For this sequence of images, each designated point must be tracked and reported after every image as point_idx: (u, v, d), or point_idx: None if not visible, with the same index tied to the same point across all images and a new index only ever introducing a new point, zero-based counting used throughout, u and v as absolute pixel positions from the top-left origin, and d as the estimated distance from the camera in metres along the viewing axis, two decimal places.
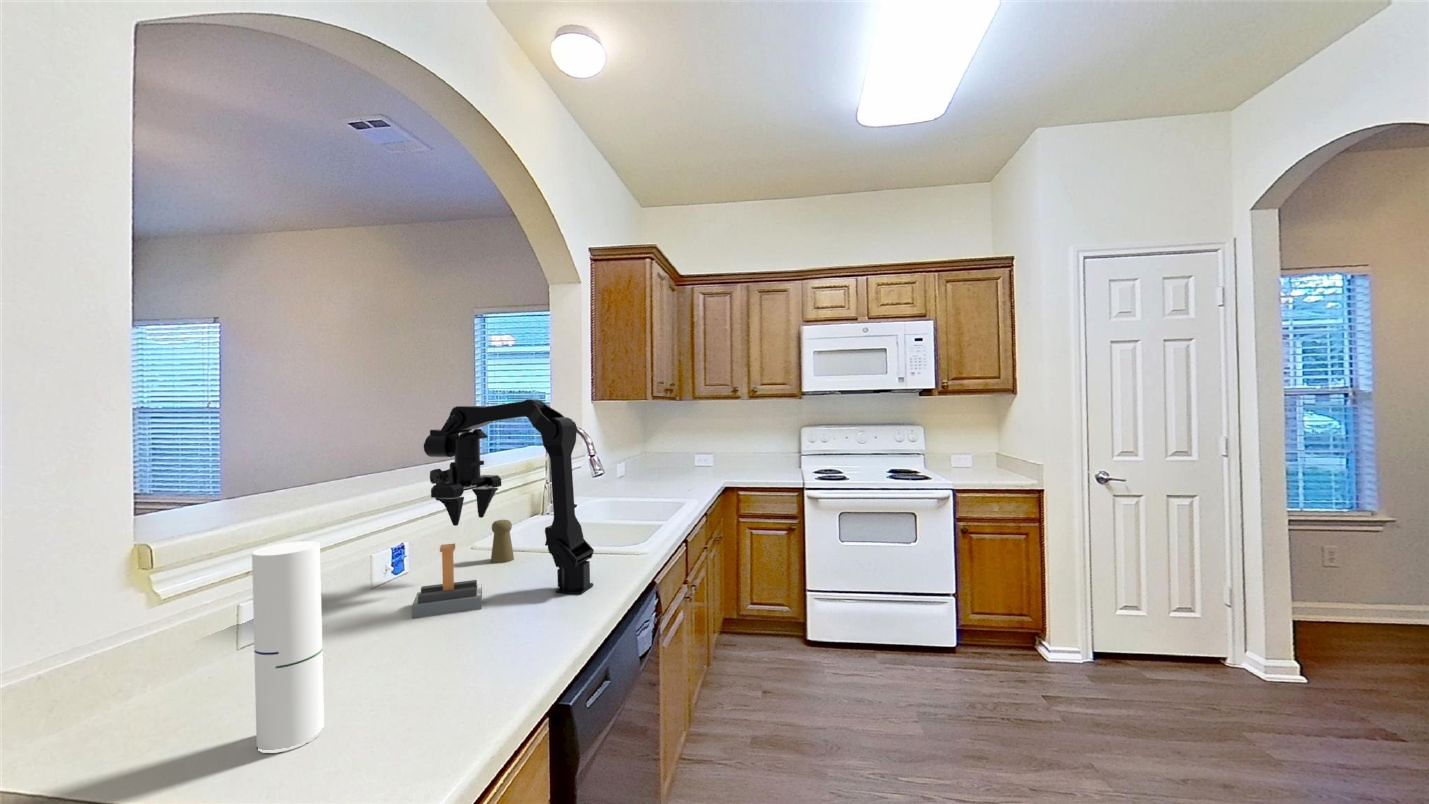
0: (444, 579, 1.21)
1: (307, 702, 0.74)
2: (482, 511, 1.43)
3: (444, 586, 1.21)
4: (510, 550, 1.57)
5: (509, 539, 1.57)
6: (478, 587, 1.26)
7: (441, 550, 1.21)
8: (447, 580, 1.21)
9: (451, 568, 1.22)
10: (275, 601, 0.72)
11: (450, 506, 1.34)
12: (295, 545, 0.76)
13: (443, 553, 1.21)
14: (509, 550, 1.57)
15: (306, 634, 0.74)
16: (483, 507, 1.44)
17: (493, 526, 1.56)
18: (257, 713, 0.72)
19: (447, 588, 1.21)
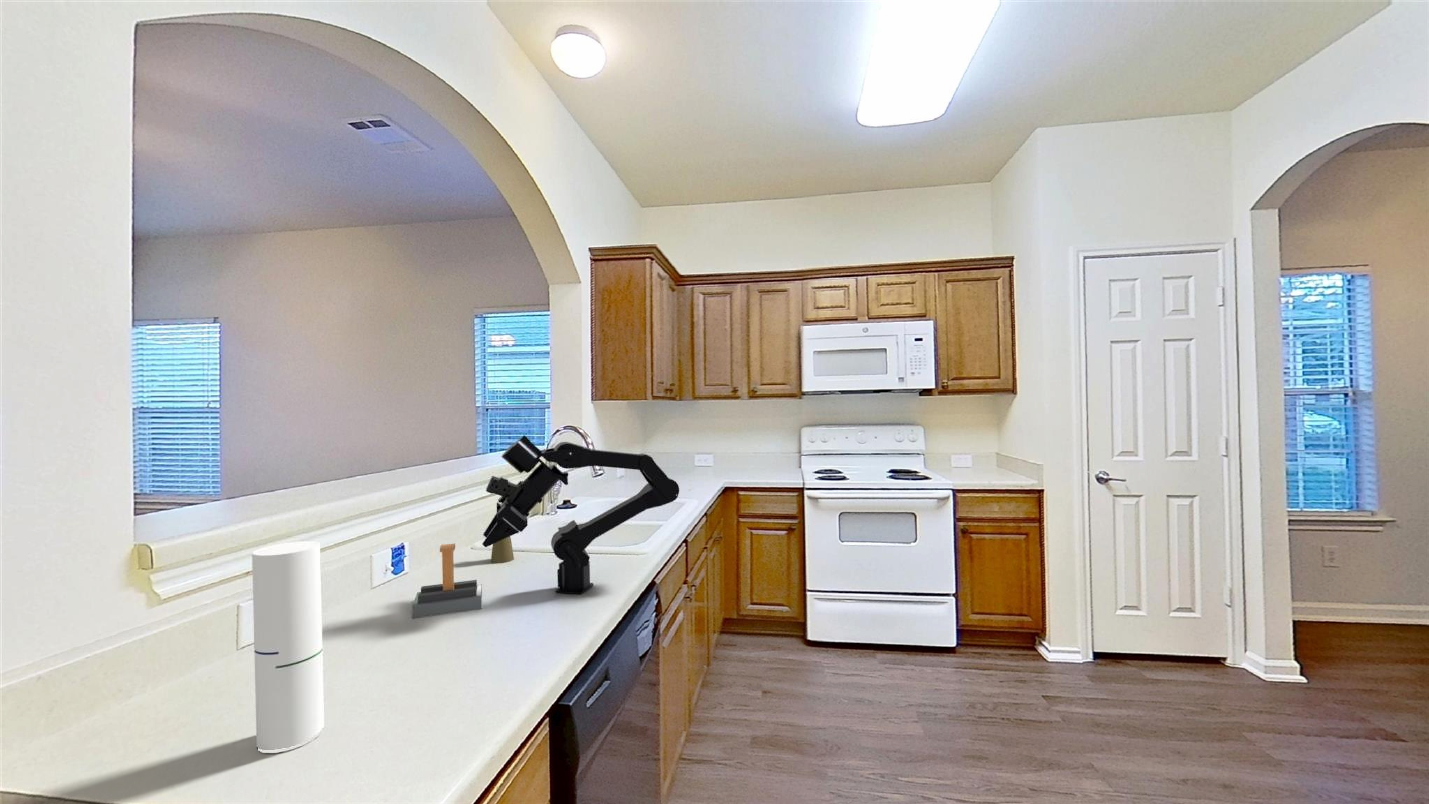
0: (444, 579, 1.21)
1: (307, 702, 0.74)
2: None
3: (444, 586, 1.21)
4: (510, 550, 1.57)
5: (509, 539, 1.57)
6: (478, 587, 1.26)
7: (441, 550, 1.21)
8: (447, 580, 1.21)
9: (451, 568, 1.22)
10: (275, 601, 0.72)
11: (499, 528, 1.21)
12: (295, 545, 0.76)
13: (443, 553, 1.21)
14: (509, 550, 1.57)
15: (306, 634, 0.74)
16: None
17: None
18: (257, 713, 0.72)
19: (447, 588, 1.21)
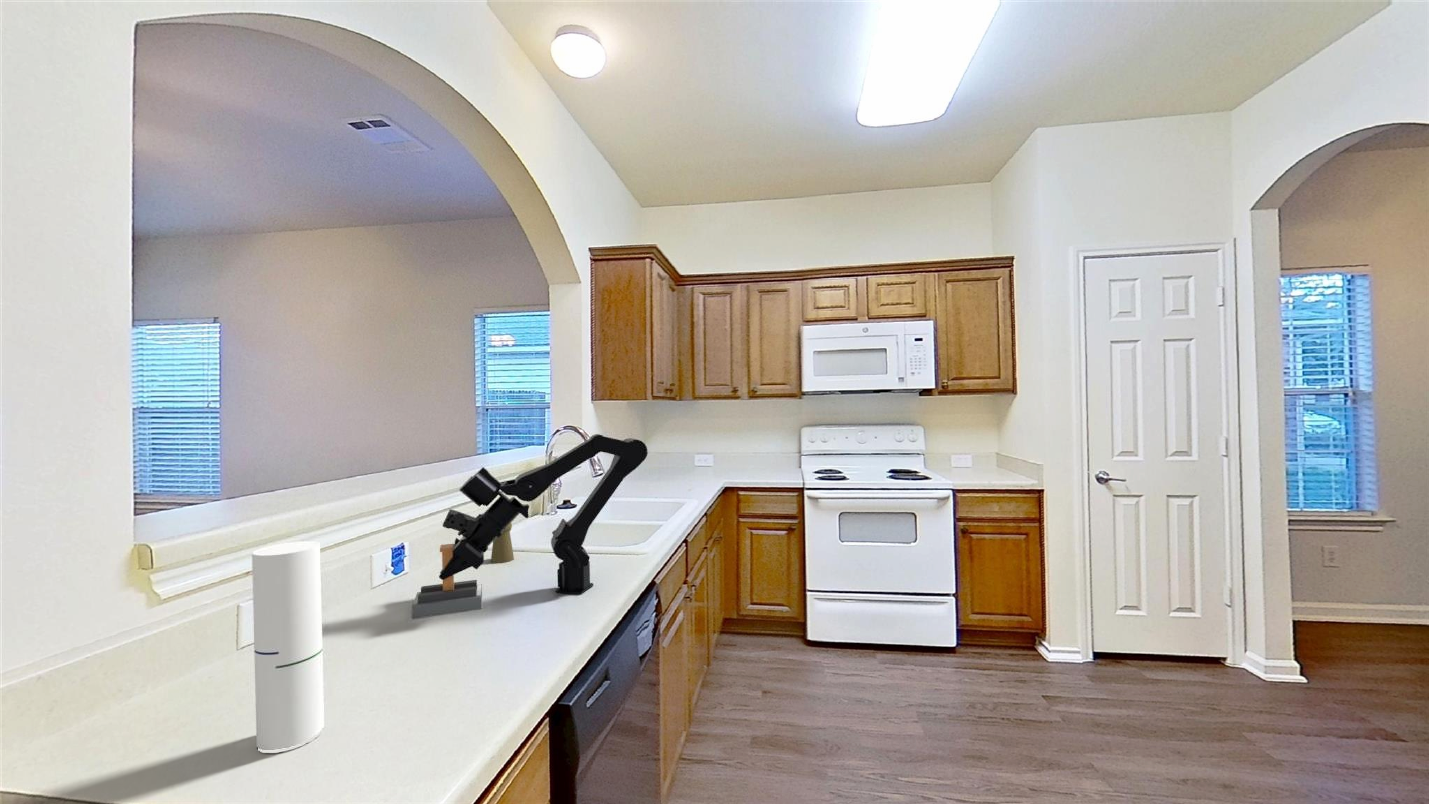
0: (444, 579, 1.21)
1: (307, 702, 0.74)
2: None
3: (444, 586, 1.21)
4: (510, 550, 1.57)
5: (509, 539, 1.57)
6: (478, 587, 1.26)
7: (441, 550, 1.21)
8: (447, 580, 1.21)
9: None
10: (275, 601, 0.72)
11: (455, 561, 1.21)
12: (295, 545, 0.76)
13: (443, 553, 1.21)
14: (509, 550, 1.57)
15: (306, 634, 0.74)
16: None
17: None
18: (257, 713, 0.72)
19: (447, 588, 1.21)
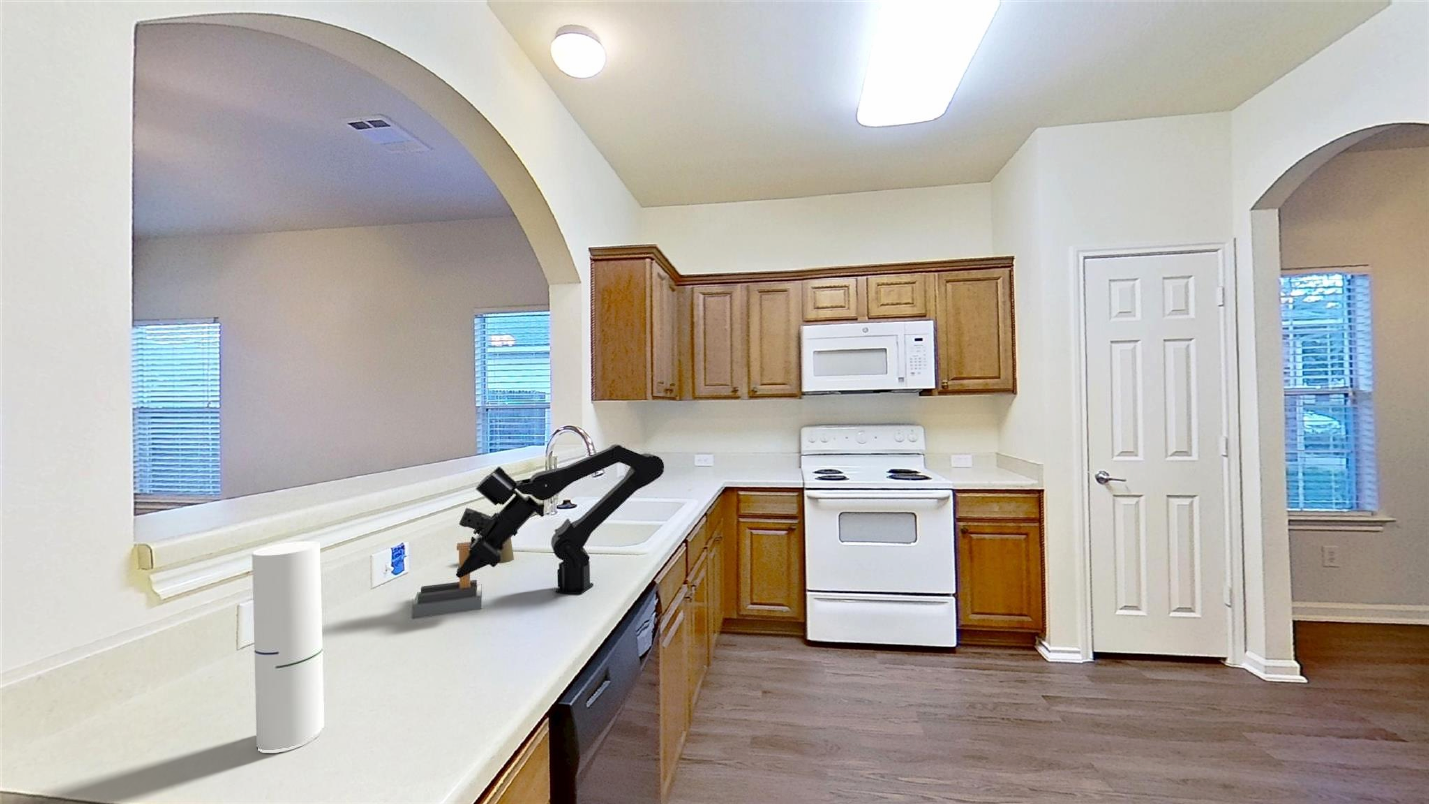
0: (461, 577, 1.22)
1: (307, 702, 0.74)
2: None
3: (461, 584, 1.22)
4: (510, 550, 1.57)
5: (509, 539, 1.57)
6: (478, 587, 1.26)
7: (458, 548, 1.22)
8: (464, 578, 1.23)
9: None
10: (275, 601, 0.72)
11: (472, 559, 1.22)
12: (295, 545, 0.76)
13: (460, 551, 1.22)
14: (509, 550, 1.57)
15: (306, 634, 0.74)
16: None
17: None
18: (257, 713, 0.72)
19: (464, 586, 1.23)
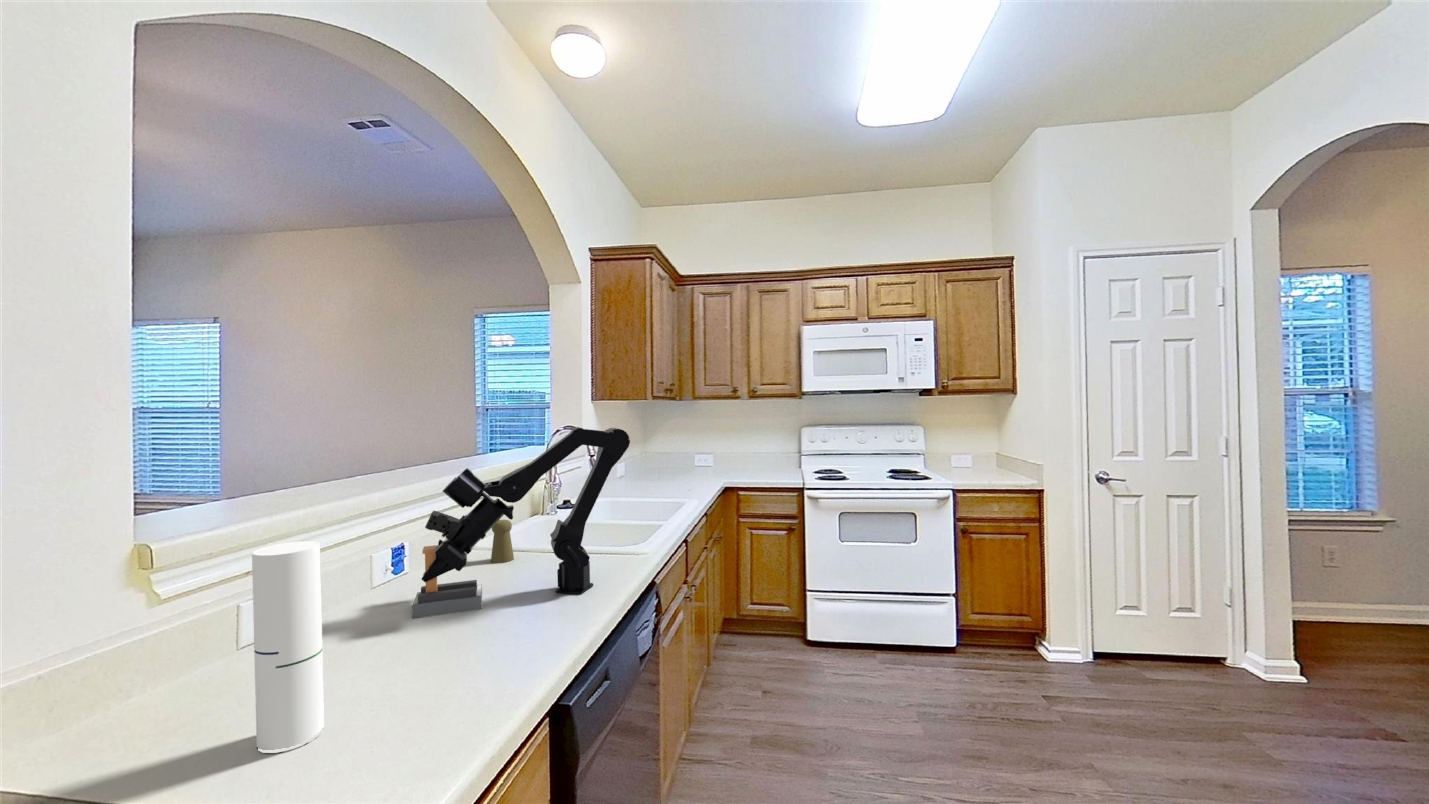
0: (427, 581, 1.20)
1: (307, 702, 0.74)
2: None
3: (427, 588, 1.20)
4: (510, 550, 1.57)
5: (509, 539, 1.57)
6: (478, 587, 1.26)
7: (424, 552, 1.19)
8: (430, 582, 1.20)
9: None
10: (275, 601, 0.72)
11: (438, 563, 1.20)
12: (295, 545, 0.76)
13: (426, 555, 1.20)
14: (509, 550, 1.57)
15: (306, 634, 0.74)
16: None
17: (493, 526, 1.56)
18: (257, 713, 0.72)
19: (430, 590, 1.20)
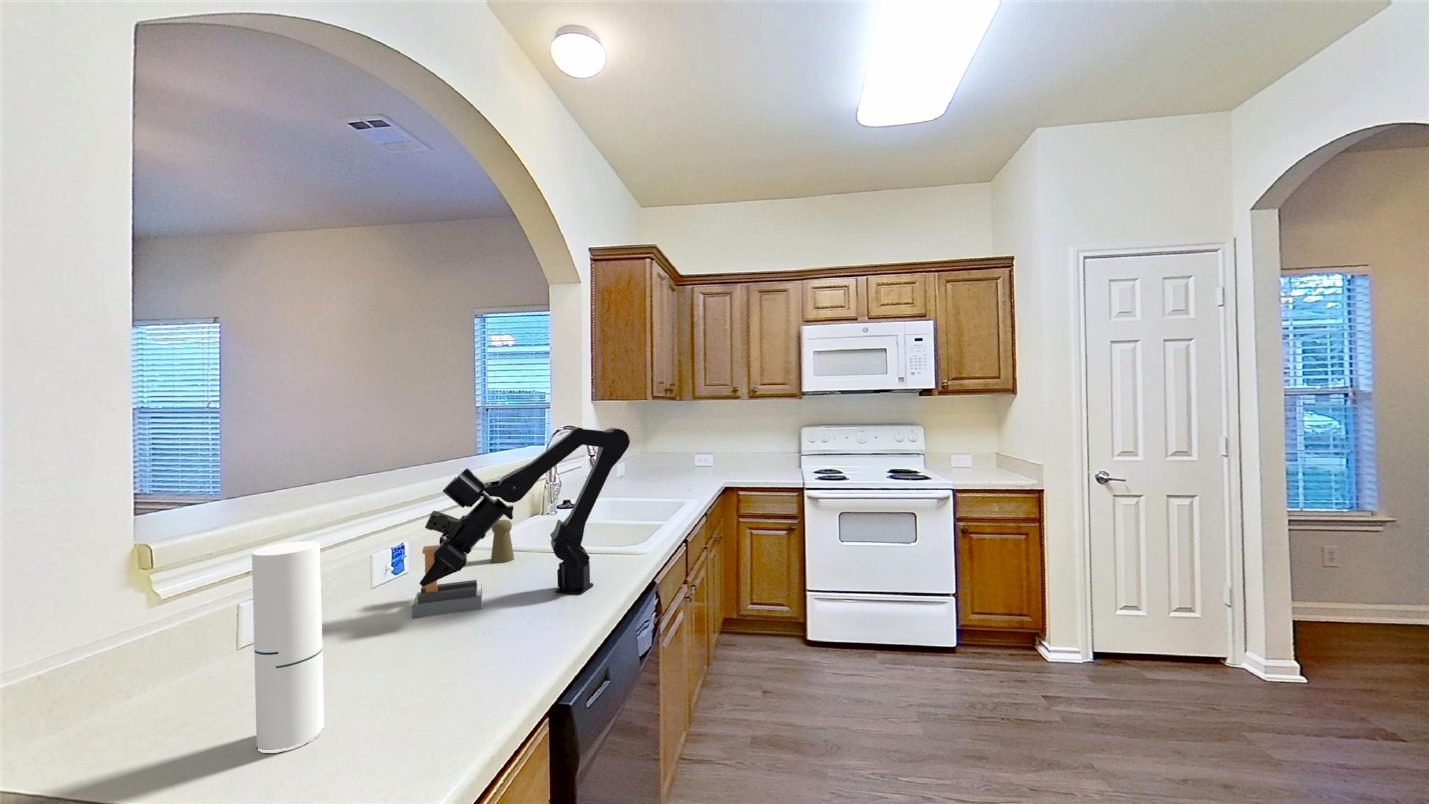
0: None
1: (307, 702, 0.74)
2: None
3: (427, 588, 1.20)
4: (510, 550, 1.57)
5: (509, 539, 1.57)
6: (478, 587, 1.26)
7: (424, 552, 1.19)
8: None
9: None
10: (275, 601, 0.72)
11: (437, 567, 1.17)
12: (295, 545, 0.76)
13: (426, 555, 1.20)
14: (509, 550, 1.57)
15: (306, 634, 0.74)
16: None
17: (493, 526, 1.56)
18: (257, 713, 0.72)
19: (430, 590, 1.20)
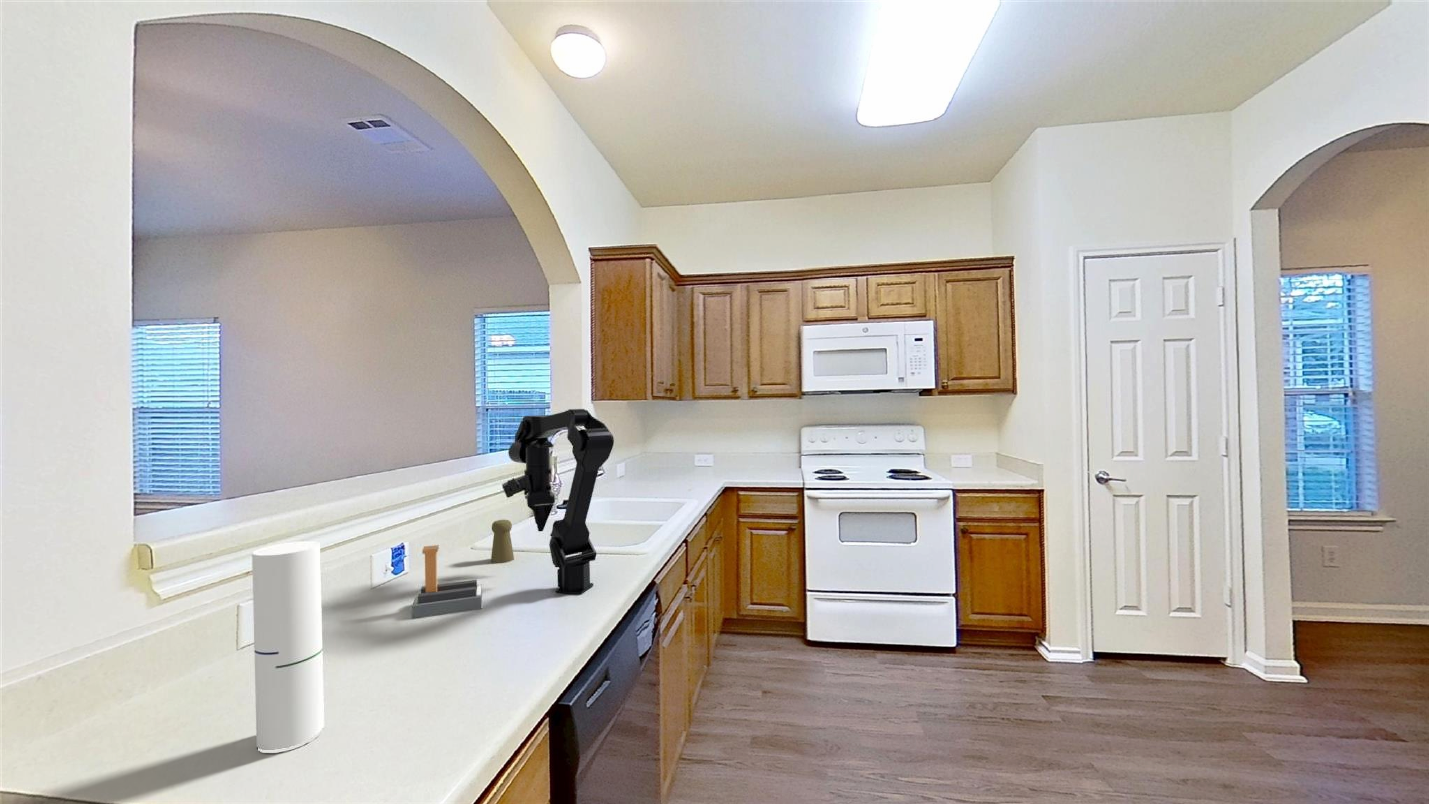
0: (427, 581, 1.20)
1: (307, 702, 0.74)
2: None
3: (427, 588, 1.20)
4: (510, 550, 1.57)
5: (509, 539, 1.57)
6: (478, 587, 1.26)
7: (424, 552, 1.19)
8: (430, 582, 1.20)
9: (434, 570, 1.20)
10: (275, 601, 0.72)
11: (539, 512, 1.38)
12: (295, 545, 0.76)
13: (426, 555, 1.20)
14: (509, 550, 1.57)
15: (306, 634, 0.74)
16: None
17: (493, 526, 1.56)
18: (257, 713, 0.72)
19: (430, 590, 1.20)
